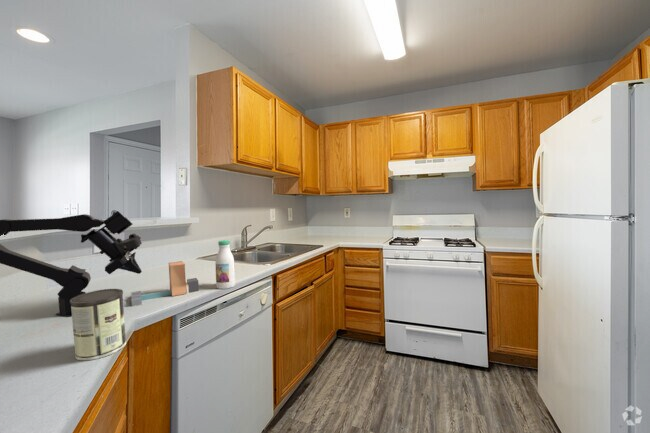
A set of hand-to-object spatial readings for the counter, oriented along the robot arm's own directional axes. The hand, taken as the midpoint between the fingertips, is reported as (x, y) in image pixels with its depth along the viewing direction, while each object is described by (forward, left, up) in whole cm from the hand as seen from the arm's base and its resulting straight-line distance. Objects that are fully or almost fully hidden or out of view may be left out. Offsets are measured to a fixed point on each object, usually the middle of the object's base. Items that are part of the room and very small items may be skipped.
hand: (140, 272), depth 106 cm
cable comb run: (+6, -5, -10) cm, 13 cm away
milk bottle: (+21, -22, -11) cm, 32 cm away
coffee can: (-31, -22, -11) cm, 40 cm away
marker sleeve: (+9, -8, -10) cm, 16 cm away
